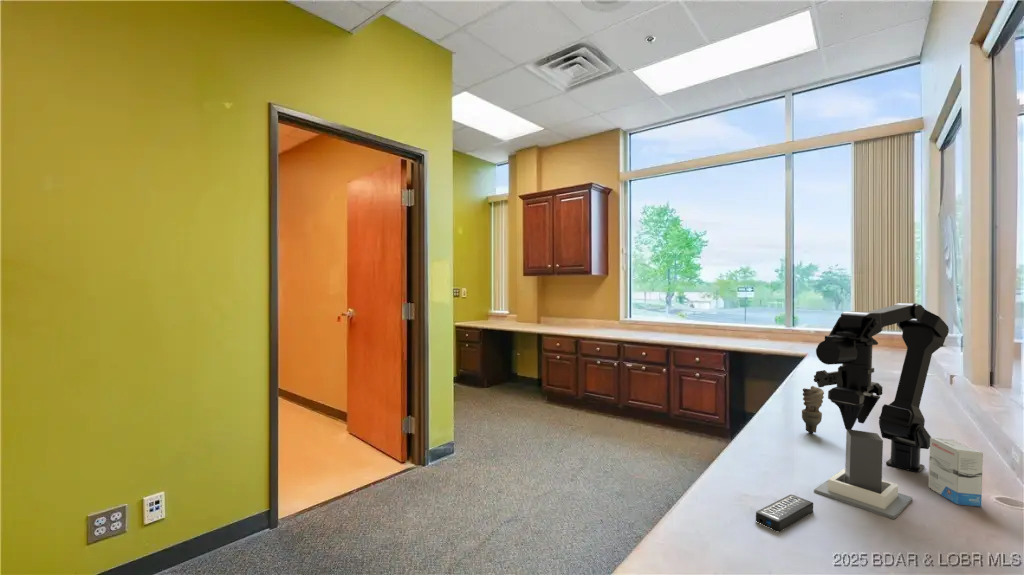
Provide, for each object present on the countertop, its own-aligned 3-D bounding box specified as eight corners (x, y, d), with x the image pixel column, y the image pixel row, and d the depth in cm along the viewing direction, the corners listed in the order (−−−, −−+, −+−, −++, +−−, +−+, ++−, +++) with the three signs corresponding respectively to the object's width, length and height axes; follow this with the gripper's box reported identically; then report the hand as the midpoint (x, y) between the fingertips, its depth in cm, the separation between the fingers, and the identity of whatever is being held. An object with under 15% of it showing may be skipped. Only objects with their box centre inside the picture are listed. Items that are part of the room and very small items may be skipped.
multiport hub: (813, 513, 91) (814, 502, 91) (778, 534, 83) (778, 522, 83) (790, 504, 95) (791, 493, 95) (754, 523, 87) (755, 511, 87)
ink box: (982, 507, 94) (984, 452, 94) (955, 504, 95) (957, 450, 95) (951, 489, 103) (953, 438, 103) (927, 486, 104) (928, 436, 103)
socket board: (836, 476, 108) (836, 463, 108) (912, 499, 97) (912, 485, 97) (813, 491, 100) (814, 478, 100) (894, 519, 89) (894, 503, 89)
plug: (844, 485, 102) (846, 428, 102) (875, 491, 100) (877, 433, 99) (848, 494, 97) (850, 435, 97) (881, 501, 95) (882, 440, 95)
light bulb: (819, 432, 141) (820, 385, 141) (825, 438, 136) (826, 389, 136) (799, 430, 143) (800, 383, 143) (804, 435, 138) (805, 387, 138)
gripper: (832, 355, 121) (830, 412, 121) (804, 361, 110) (802, 423, 110) (884, 361, 112) (882, 423, 113) (859, 368, 101) (857, 437, 101)
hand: (854, 426), depth 109 cm, fingers open, 9 cm apart
